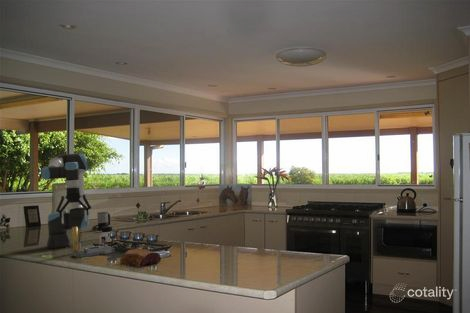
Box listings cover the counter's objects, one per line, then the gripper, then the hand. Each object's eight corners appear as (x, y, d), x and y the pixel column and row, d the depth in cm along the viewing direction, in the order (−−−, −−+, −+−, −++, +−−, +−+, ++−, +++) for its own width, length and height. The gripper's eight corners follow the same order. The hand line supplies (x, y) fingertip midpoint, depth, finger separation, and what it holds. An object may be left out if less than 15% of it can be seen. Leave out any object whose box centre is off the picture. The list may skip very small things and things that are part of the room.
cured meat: (139, 256, 255) (138, 244, 255) (168, 260, 238) (167, 247, 238) (111, 263, 241) (110, 250, 241) (139, 268, 224) (138, 255, 224)
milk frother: (107, 230, 379) (106, 212, 379) (88, 231, 379) (87, 213, 379) (112, 227, 393) (111, 210, 393) (93, 228, 393) (93, 211, 393)
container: (110, 247, 291) (109, 226, 291) (99, 247, 292) (98, 227, 293) (116, 244, 298) (115, 225, 299) (105, 245, 300) (104, 225, 300)
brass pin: (72, 253, 276) (71, 227, 277) (78, 252, 278) (76, 226, 278) (73, 253, 273) (72, 227, 274) (79, 253, 275) (78, 226, 275)
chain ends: (73, 255, 268) (72, 249, 268) (110, 250, 279) (110, 244, 280) (76, 258, 259) (76, 251, 259) (115, 252, 271) (114, 246, 271)
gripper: (52, 188, 267) (53, 224, 266) (95, 185, 280) (96, 220, 279) (50, 188, 273) (51, 224, 273) (92, 185, 286) (93, 219, 285)
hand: (74, 222), depth 276 cm, fingers open, 13 cm apart
